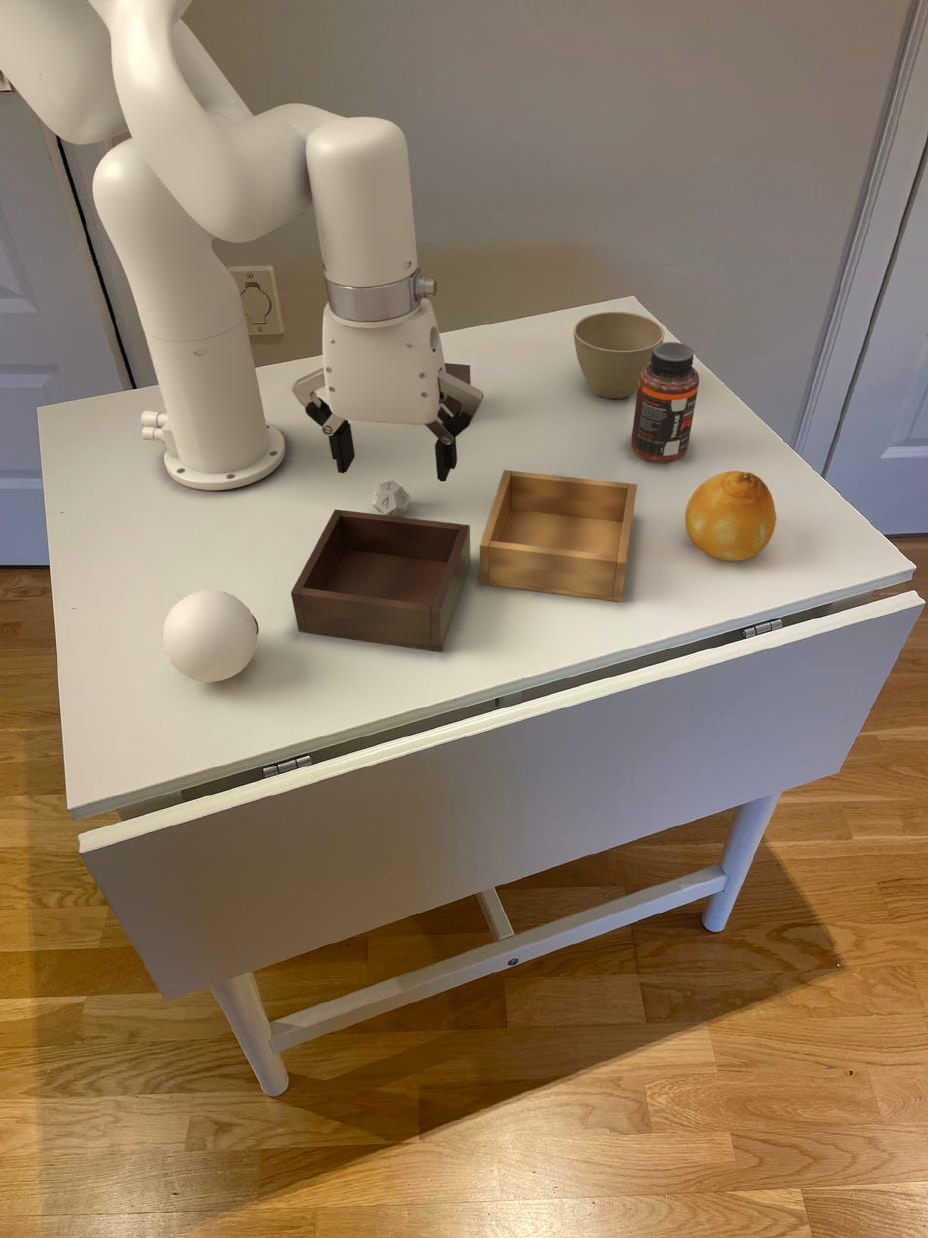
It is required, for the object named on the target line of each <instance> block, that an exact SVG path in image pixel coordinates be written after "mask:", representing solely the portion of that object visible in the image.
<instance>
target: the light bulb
mask: <svg viewBox="0 0 928 1238" xmlns="http://www.w3.org/2000/svg"><path fill="white" fill-rule="evenodd" d="M175 594H176V595H177V596H179V597H181V600H180V601H178V602H177V603H176V604H175V605H173V606H172V608H171V609H170V611H169V612H168V614H167V616H166V619H165V622H164V625H163V629H162V643H163V644H162V645H163V648H164V653H165V655H166V657H167V658H168V659H169V661H170V663H171V664H172V666H173V667H174V668H175V669H176V670H177V671H178V672H179V673H181V674H183V675H185V676H186V677H188V678H190V679H192V680H195V681H198V682H204V683H213V682H220V681H224V680H227V679H230V678H232V677H234V676H235V675H238V674H239V673H241V672H242V671H243V670H244V669H245V668H246V667H247V666H248V665H249V663H250V661H251V660H252V658H253V656H254V654H255V652H256V649H257V647H258V635H259V623H258V621H257V619H256V617H255V616H254V614H253V613H252V612H251V610H250V608H249V607H248V606H247V605H246V604H245V603H244V602H243V601H241V600H240V599H238V597H237V596H235V595H233V594H230V593H228V592H225V591H219V590H212V589H207V590H205V589H204V590H199V591H196V592H192V593H190V594H189V595H186V596H185V597H182V596H181V595H180V594H178V593H177V592H175Z"/></svg>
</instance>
